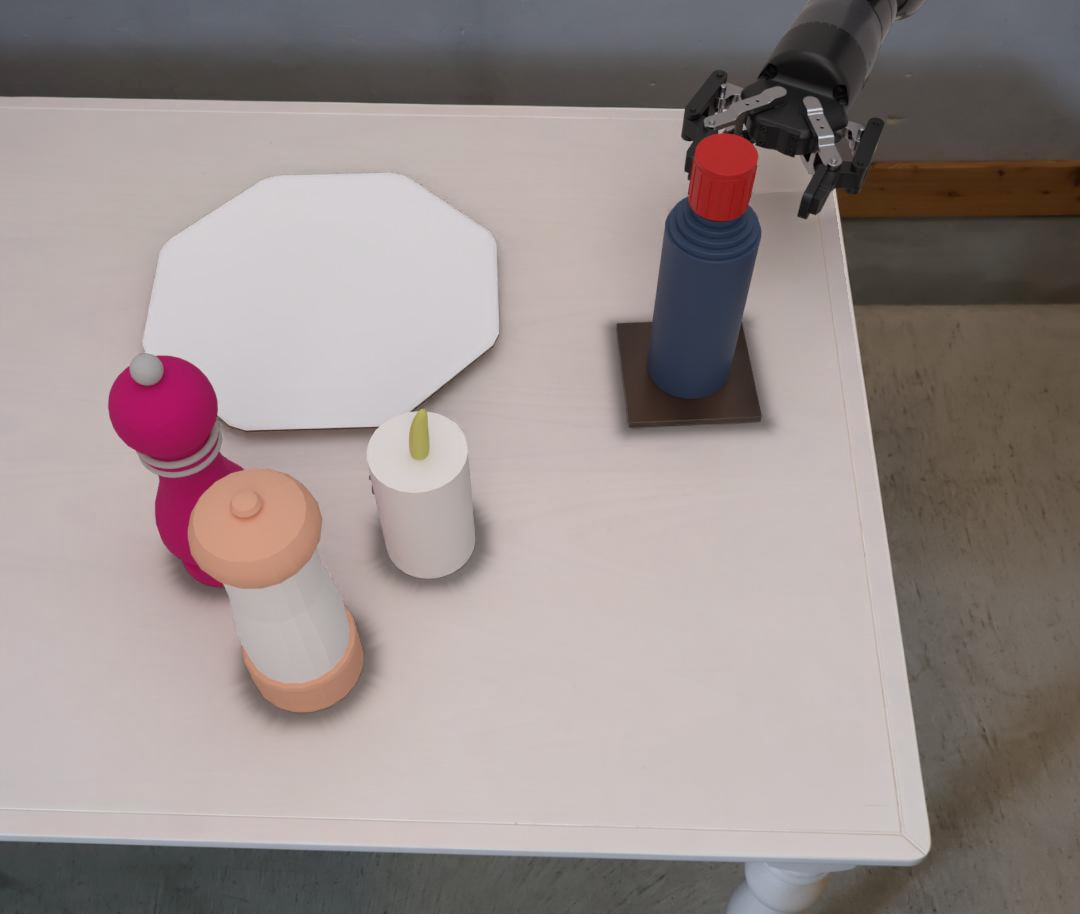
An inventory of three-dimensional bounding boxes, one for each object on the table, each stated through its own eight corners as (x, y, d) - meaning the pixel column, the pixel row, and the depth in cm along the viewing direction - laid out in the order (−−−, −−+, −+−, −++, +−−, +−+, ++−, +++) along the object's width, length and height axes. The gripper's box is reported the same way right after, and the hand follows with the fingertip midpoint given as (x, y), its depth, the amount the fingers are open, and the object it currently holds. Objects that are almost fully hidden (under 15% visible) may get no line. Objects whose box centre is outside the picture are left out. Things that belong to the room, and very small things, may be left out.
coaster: (740, 322, 89) (741, 317, 88) (760, 421, 83) (762, 417, 83) (615, 328, 88) (616, 322, 88) (628, 428, 83) (629, 423, 83)
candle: (400, 493, 80) (374, 354, 67) (486, 513, 79) (477, 376, 66) (369, 565, 77) (337, 434, 64) (459, 588, 76) (444, 459, 63)
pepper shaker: (326, 731, 70) (263, 582, 54) (230, 684, 72) (142, 526, 56) (384, 639, 74) (342, 472, 57) (291, 596, 75) (225, 423, 59)
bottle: (723, 334, 87) (768, 125, 71) (735, 397, 84) (785, 193, 67) (642, 337, 87) (668, 128, 70) (651, 401, 84) (680, 197, 67)
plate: (129, 445, 82) (123, 432, 81) (178, 190, 96) (173, 176, 95) (502, 434, 83) (501, 421, 81) (494, 182, 97) (494, 169, 96)
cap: (743, 179, 73) (753, 131, 70) (753, 221, 71) (763, 174, 68) (684, 181, 73) (690, 133, 69) (691, 223, 71) (699, 176, 67)
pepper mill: (159, 536, 78) (54, 344, 61) (252, 489, 80) (176, 291, 63) (202, 612, 75) (103, 432, 58) (298, 562, 77) (231, 373, 60)
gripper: (743, -4, 86) (662, 117, 78) (922, 47, 83) (855, 179, 75) (729, 80, 92) (652, 200, 85) (894, 131, 89) (830, 261, 82)
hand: (747, 190), depth 80 cm, fingers open, 8 cm apart
